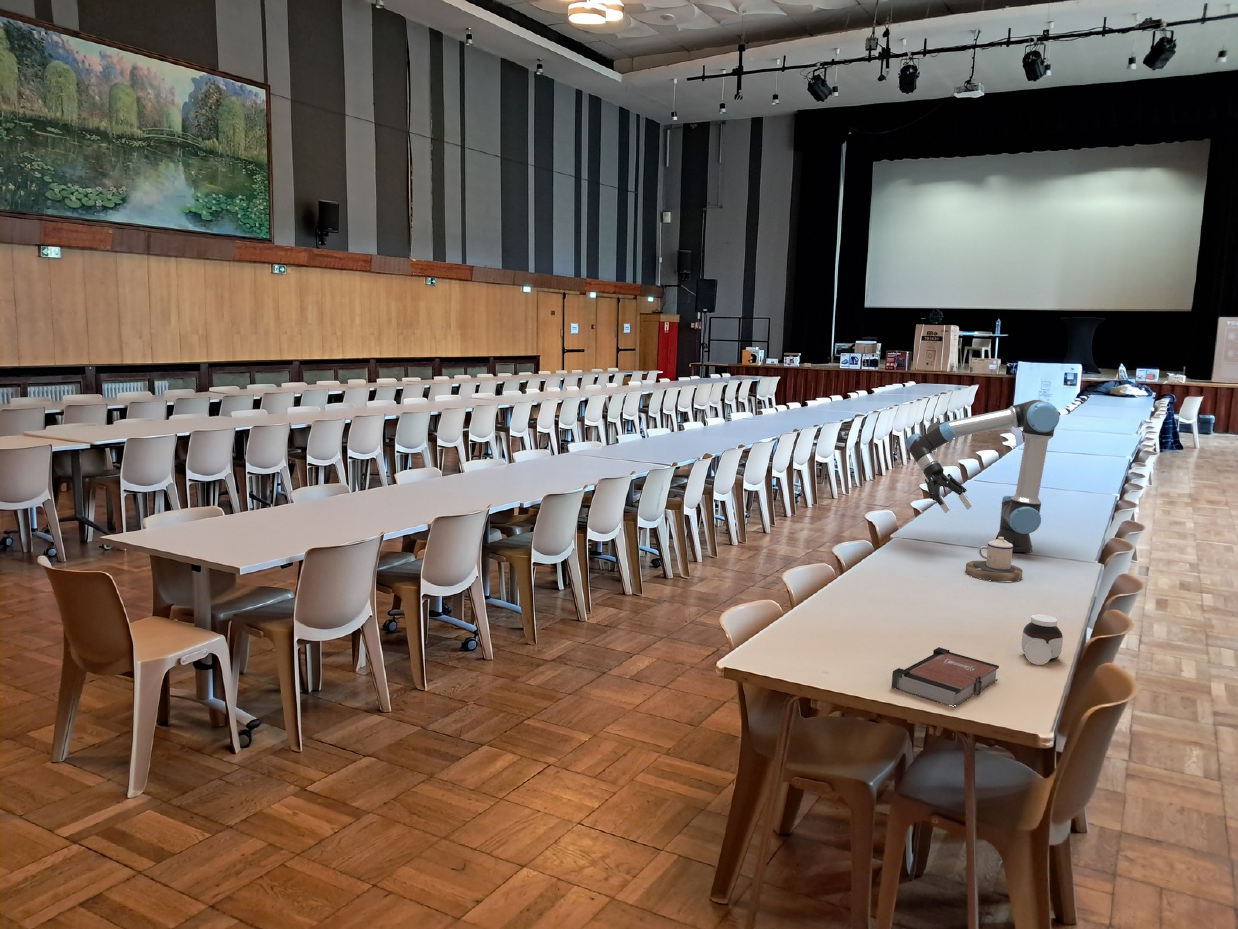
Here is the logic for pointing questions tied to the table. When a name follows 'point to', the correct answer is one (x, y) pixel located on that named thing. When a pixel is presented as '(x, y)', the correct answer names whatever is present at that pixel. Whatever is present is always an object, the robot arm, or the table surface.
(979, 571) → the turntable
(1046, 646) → the spread jar
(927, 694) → the book
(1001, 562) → the teacup with lid
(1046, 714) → the table surface
